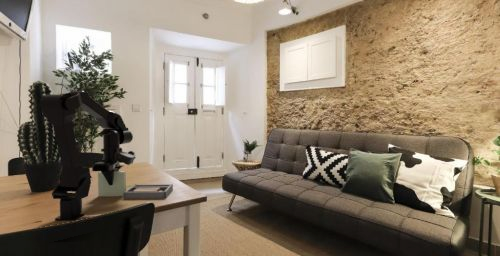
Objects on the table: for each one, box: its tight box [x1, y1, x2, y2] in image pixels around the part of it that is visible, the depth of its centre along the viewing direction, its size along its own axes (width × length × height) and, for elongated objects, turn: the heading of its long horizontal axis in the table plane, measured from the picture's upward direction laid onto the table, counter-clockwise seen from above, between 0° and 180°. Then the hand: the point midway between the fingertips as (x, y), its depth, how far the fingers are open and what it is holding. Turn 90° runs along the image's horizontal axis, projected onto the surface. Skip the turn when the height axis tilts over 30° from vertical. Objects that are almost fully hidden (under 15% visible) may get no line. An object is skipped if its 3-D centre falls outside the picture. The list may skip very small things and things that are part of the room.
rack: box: [123, 183, 174, 200], centre depth 109 cm, size 12×16×3 cm
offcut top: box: [133, 188, 160, 192], centre depth 107 cm, size 5×9×1 cm, turn 94°
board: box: [97, 170, 127, 197], centre depth 106 cm, size 2×10×10 cm, turn 94°
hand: (112, 184), depth 106 cm, fingers closed on board, 2 cm apart
